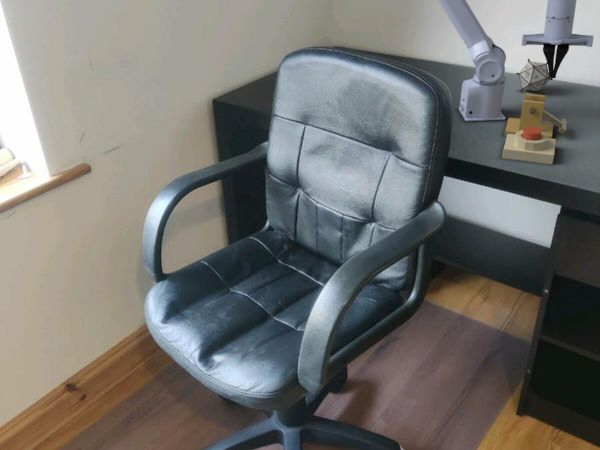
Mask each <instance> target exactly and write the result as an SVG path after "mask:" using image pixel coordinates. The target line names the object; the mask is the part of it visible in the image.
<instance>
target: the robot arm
mask: <svg viewBox="0 0 600 450" xmlns="http://www.w3.org/2000/svg"><path fill="white" fill-rule="evenodd" d="M437 2H439V4H440V5H441V7H442V9H443V10H444V12H445V14H446V15H447V17H448V18H449V21H450V22H451V23H452V25H453V26H454V29H455V30H456V32H457V33H458V34H459V36H460V38H461V40H462V41H463V42H464V44H465V46H466V47H467V49H468V51H469V55H470V58H471V61H472V63H473V64H474V66H475V74H473V77H472V78H470V79H466V80H463V82H462V83H461V84H462V85H461V90H460V102H459V107H458V111H459V112H460V114H461V115H462V117H463V119H464V121H465V122H486V121H487V122H488V121H505V120H506V119H507V117H506V116H505V115H504V114H503V112H502V105H503V99H504V98H503V97H504V91H505V85H506V84H505V83H506V77H505V73H506V66H505V64H506V60H507V55H506V53H505V51H504V49H503V48H501V46H498V45H497V44H496V43H495V42H494V41H493V39H492V38H491V37H490V36H489V35H488V34H487V33H486V31H485V29H484V28H483V26H482V24H481V23H480V22H479V20H478V18H477V17H476V15H475V13H474V11H473V9H471V7H470V5H469V3H468V1H467V0H437ZM576 7H577V0H547V5H546V12H545V22H544V31H543V32H542V33H530V34H523V35H522V37H521V38H522V39H521V46H522V47H523V46H524V47H526V46H542V52H543V55H544V58H545V60H546V62H547V67H548V71H549V78H552V79H556V77H557V73H558V71H559V68H560V66H561V64H562V63H563V60H564V59H565V57H566V55H567V54H568V52H569V50H570V46H577V47H578V46H579V47H587V48H593V43H594V35H593V34H592V35H591V34H590V35H589V34H588V35H587V34H578V33H573V28H574V21H575V13H576Z"/></svg>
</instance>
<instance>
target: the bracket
mask: <svg viewBox="0 0 600 450" xmlns="http://www.w3.org/2000/svg"><path fill="white" fill-rule="evenodd" d="M531 97H533V98H535V99H536V100H538V101H530V98H531ZM546 97H547V96H546V95H545V94H541V95H540V94H534V93H524V97H523V101H522V107H521V111H520V112H521V113H520V118H518V117H517V118H515V117H508V119H507V121H506V122H507V123H506V127H505V130H504V135H503V136H505V137H507V134H514V135H515V134H516V133H517V132H519V131H521V130H523V129H524V128H526V127H536V128H539V129H541V131H542V133H545V134H546V135H547V136H548V138H549V139H553V132H554V125H555V124H554V123H552V122H551V121H544V120H542V119H543V116H542V114H543V109H544V108H545V102H546ZM544 110H545V109H544Z"/></svg>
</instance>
